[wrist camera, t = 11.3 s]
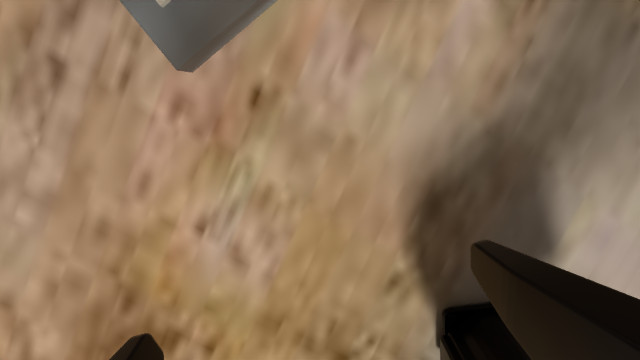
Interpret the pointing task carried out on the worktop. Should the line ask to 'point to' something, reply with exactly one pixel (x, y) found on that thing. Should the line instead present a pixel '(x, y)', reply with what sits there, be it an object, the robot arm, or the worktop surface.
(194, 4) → the slate plinth
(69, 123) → the worktop surface
